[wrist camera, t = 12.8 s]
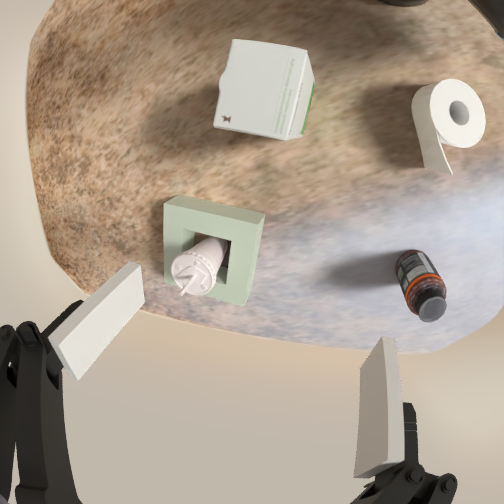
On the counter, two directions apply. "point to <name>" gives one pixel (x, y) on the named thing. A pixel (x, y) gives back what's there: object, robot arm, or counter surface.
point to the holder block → (218, 225)
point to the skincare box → (265, 90)
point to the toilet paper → (446, 120)
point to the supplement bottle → (421, 286)
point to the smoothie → (199, 266)
